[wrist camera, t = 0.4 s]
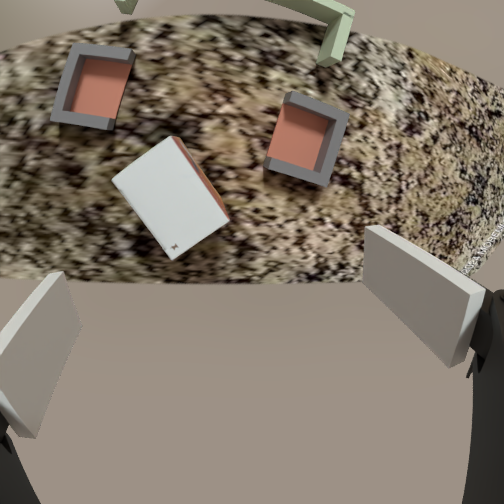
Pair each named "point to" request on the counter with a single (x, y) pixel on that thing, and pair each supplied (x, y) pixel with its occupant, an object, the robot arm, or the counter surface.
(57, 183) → the counter surface
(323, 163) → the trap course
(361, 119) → the counter surface
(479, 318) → the robot arm
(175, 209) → the small box
